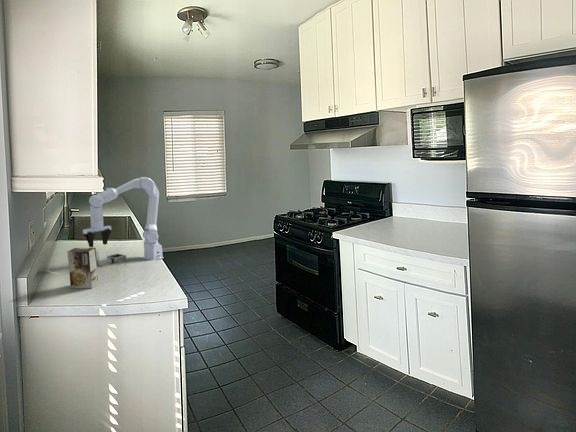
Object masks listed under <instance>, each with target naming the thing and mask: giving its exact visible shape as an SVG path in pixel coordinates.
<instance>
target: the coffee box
mask: <svg viewBox="0 0 576 432" xmlns="http://www.w3.org/2000/svg"><path fill="white" fill-rule="evenodd" d="M96 250H97V248H96V247H74V248H72V249H70V250H68V251H67V252H66V253H67V261H68V262H67V263H68V271H69V274H68V275H69V284H70V286H69V287H70V289H93V288H94V287H96V286H98V284H99V277H98V267H97V261H96Z"/></svg>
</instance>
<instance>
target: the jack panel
mask: <svg viewBox="0 0 576 432" xmlns="http://www.w3.org/2000/svg"><path fill="white" fill-rule="evenodd" d="M124 261H125V262H126V261H127V255H125V254H122V253H114V254H110V255H107V260H103V261H97V268H103V267H106V266H109V265H113V264H118V263H122V262H124Z"/></svg>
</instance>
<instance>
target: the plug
mask: <svg viewBox="0 0 576 432" xmlns="http://www.w3.org/2000/svg"><path fill="white" fill-rule="evenodd" d="M107 256H108V255H107V249H103V248H100V249H96V261H103V260H107Z"/></svg>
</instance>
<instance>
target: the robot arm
mask: <svg viewBox="0 0 576 432" xmlns="http://www.w3.org/2000/svg"><path fill="white" fill-rule="evenodd" d="M105 189H106V190H103V191H101V192H99V191H98V192H97V193H96V194H93V195H91V196H90V197H89V198H88V199H89V200H88V203H89V204H90V207H89V209H90V210H89V211H90V213H89V215H90V227H88V228H84V229H82V234H83V236H84V238H85V239H86V241H87V244H88V248H94V238H95V234H94V233H97V232H101V233H100V234H101V239H102V244H103V245H107V244H108V241H109V238H110V235H111V234H112V226H111V225H104V210H103V205H104V204H107V203H109V202H112V200H115V199H117V198H118V196H119V195H120V194H122V193H123V194H124V192H127V191H129V190H132V189H142V190H144V191H145V193H147V194H148V204H147V206H148V207H147V215H146V224H145V227H144V230H143V232H142V237H143V239H144V241H143V253H144V254H143V256H142V257H140V258H141V259H143V260H144V259H145V260H149V261H157V260H160V259H161V260H162V259H164V256H163V246H162V244H160V243H159V241H158V240H159V234H158V227H157V224H158V223H157V222H158V214H159V213H158V211H159V200H160V191H159V189H158V186H157V185H156V183H155V181H154V180H152V179H151V178H149V177H145V176H141V177H139V178H138V177H137V178H135V179H132V180H130V181H128V182H126V183H124V184H122V185H120V186H118V187H116V188H114V187H106V188H105ZM160 257H161V258H160Z"/></svg>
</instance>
